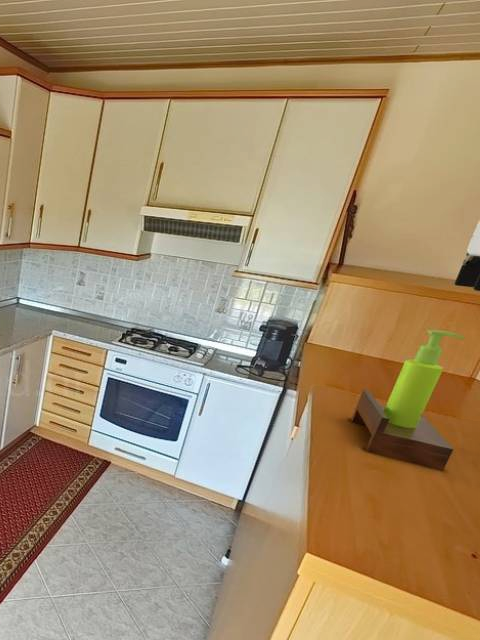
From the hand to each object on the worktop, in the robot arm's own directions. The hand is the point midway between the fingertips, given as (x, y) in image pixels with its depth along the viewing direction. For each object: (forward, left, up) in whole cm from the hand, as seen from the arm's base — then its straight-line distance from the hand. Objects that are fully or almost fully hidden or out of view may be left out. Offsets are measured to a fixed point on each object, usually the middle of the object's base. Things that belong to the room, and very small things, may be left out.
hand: (474, 288), depth 93 cm
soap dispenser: (+2, 0, -29) cm, 29 cm away
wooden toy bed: (+2, 0, -34) cm, 34 cm away
